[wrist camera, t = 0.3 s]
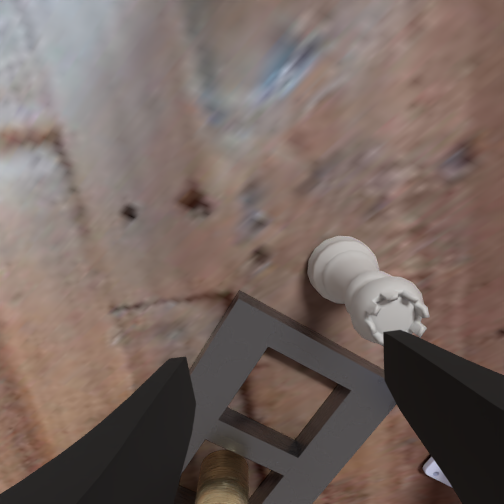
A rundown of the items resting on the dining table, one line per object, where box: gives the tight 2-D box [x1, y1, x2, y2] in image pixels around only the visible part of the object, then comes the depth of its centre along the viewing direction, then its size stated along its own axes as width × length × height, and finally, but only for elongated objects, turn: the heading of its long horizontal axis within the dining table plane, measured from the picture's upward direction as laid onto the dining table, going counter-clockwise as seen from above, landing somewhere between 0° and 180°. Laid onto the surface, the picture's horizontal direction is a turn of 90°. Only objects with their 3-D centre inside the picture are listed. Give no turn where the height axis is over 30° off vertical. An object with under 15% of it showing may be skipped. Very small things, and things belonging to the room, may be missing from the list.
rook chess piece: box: [307, 236, 429, 346], centre depth 15 cm, size 4×4×8 cm
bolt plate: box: [173, 290, 396, 504], centre depth 20 cm, size 14×20×5 cm
